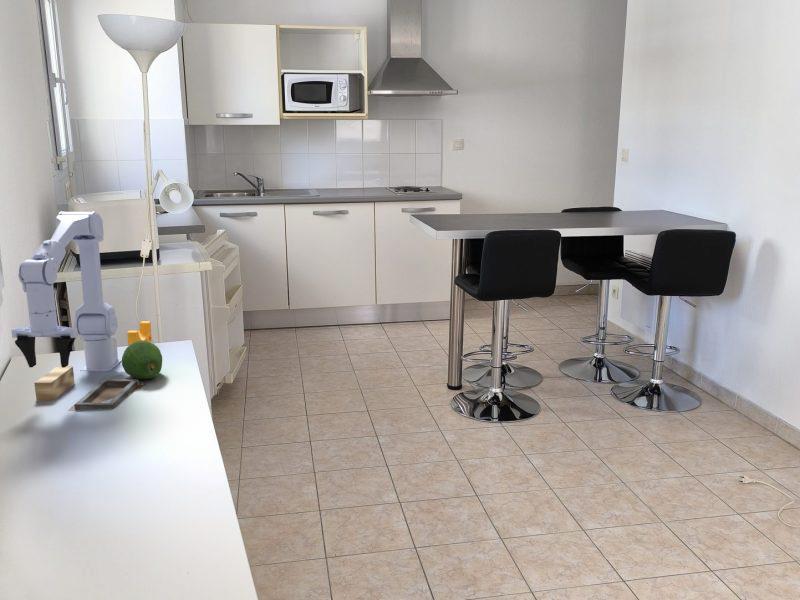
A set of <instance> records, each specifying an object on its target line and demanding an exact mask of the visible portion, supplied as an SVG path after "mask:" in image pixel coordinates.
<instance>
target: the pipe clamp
mask: <svg viewBox="0 0 800 600" xmlns="http://www.w3.org/2000/svg"><path fill="white" fill-rule="evenodd" d="M151 323H152V322H151V321H150V320H149V321H147V320H145V321H143V320H142V321H141V322H139V330H128V331H127V332H126V334H127V344H128V345H127V347H128V346H130V345H131V344H132V343H134V342H137V341H148V342H150V343H152V342H153V339H152V335H153V334H152V327H151Z"/></svg>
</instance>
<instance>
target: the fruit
mask: <svg viewBox="0 0 800 600" xmlns="http://www.w3.org/2000/svg"><path fill="white" fill-rule="evenodd" d="M121 360H122V361H121V366H122V368H123V370H124V372H125V373H126V374H127V375H128V376H129V377H130V378H133V379H138V381H140V380H141V381H142V380H143V381H144V380H150V379H153V378H155V377H157V376H158V375H159V374H160V373H161V372H162V368H163V367H162V366H163V355H162V352H161V350H160V348H159V347H158V346H156V344H154V343H152V342H151V343H150V342H148V341H137V342H134V343H132V344H131V345H130V346H128V345H127V347H126V348H125V350H124V351H123V354H122V356H121Z"/></svg>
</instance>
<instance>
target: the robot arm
mask: <svg viewBox="0 0 800 600" xmlns="http://www.w3.org/2000/svg"><path fill="white" fill-rule="evenodd" d="M104 236H105V235H104V221H103V219H102V216H101V215H100V214H99V213H98V212H97V211H63V210H62V211H60V212H58V214H57V216H56V217H55V230H54V232H53V234H52V236H51V238H50V239H46V240H44V241H43V242H42V243H41V244H40V245H39V246H38V248H37V249H36V251H35V252H34V254H33V255H32V256H31V257H30V259H26V260H24V261H22V262H21V263H20V265H19V267H18V279H19V282H20V283H21V285H22V291H23V292H24V293H26V301H27V308H28V310H27V311H28V318H29V325H30V326H25V327H24V326H21V327H15V328H12V329H11V331H10V332H11V337H12V338H13V339H15V338H16V340H14V344H15V345H16V346H17V348H18V349H19V350H20V351H21V353H22V355H23V356H24V358H25V360H26V363H27V365H28V368H34V367H35V366H37V356H36V338H58V339H56V341H55V344H56V346H57V349H58V352H59V357H60V359H59V360H60V366H62V368H65V367H66V366H69V362H70V361H69V360H70V356H71V351H72V347H73V345H74V343H75V340H76V339H77V337H80V340H82V341H83V349H84V359H85V360H84V361H85V366H83V367H82V368H80V372H110V371H111V370H112V369H114V368H115V367H116V366H118V365H119V364H120V363H122V358H121V359H119V355H118V354H119V352H118V343H117V339H116V336H115V334H116V332H117V330H118V318H117V316H116V311H115V307H114V306H112V305H110V304H109V303H108V302H105V301H104V295H103V282H102V271H101V270H102V269H101V267H102V266H101V255H100V242H103V241H104ZM71 241H72V242H74V243H75V244H76V245H77V246H78V250H79V252H78V253H79V262H80V263H79V265H80V275H81V278H80V279H81V288H82V289H81V290H82V299H83V300H82V301H83V303H82V304H81V305H80V306H79V307H77V308H76V309H75V312H74V323H73V327H68V326H61V325H59V324H58V316H57V315H58V314H57V308H56V299H55V298H56V297H55V289H54V284H55V282H56V280H57V277H58V272H59V265H60V264H61V262H62V261H63V260H64V258H65V257H66V249H65V248H66V247H67V246H68V245H69V244H70V242H71Z"/></svg>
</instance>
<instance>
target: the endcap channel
mask: <svg viewBox="0 0 800 600" xmlns="http://www.w3.org/2000/svg"><path fill="white" fill-rule="evenodd" d="M145 385H146V384H145V383H140V384H139V379H136V378H133V379H128V378H127V379H125V378H124V379H117V378H116V379H112V378H111V379H104V378H103V379H102V380H101V381H100V382H98V383H97V384H96V385H95V386H94V387H92V389H91V390H89V391H88V392H87V393H86V394H84V395H83V396H82V397H81V398H80V399H79V400H77V402H75V404H73V405H71V407H70V408H69V409H68V410H67V412H75V411H87V410H89V411H90V410H91V411H92V410H93V411H94V410H113V409H114V408H116V407H117V406H118V405H119V404H120V403H121V402H122V401H123V400H125V399H126V398H127V397H128V395H130V394H132V393H137V392H139V391H140V390H141V389H143V388H144V386H145ZM109 400H110V401H109ZM108 401H109V402H108Z"/></svg>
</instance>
